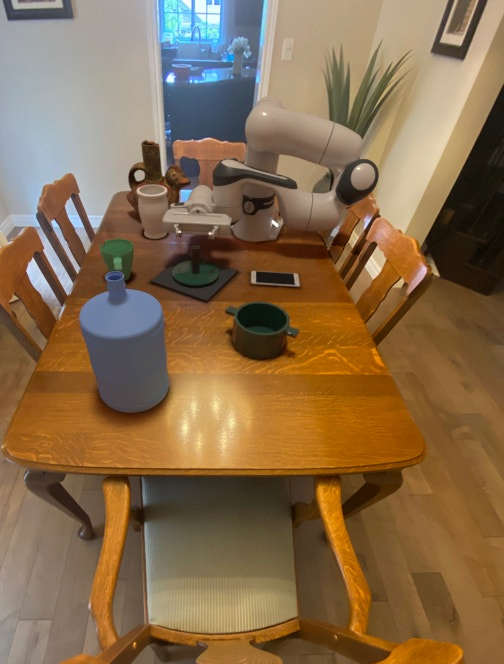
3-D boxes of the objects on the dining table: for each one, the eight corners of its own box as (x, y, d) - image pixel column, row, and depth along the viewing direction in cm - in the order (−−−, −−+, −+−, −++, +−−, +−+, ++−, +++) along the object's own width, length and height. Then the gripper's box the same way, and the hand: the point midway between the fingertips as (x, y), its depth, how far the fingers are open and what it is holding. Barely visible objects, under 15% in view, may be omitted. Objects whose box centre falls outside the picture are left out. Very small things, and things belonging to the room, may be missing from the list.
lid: (188, 259, 121) (187, 231, 114) (227, 271, 116) (229, 243, 109) (163, 279, 112) (161, 250, 105) (203, 293, 108) (204, 264, 101)
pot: (237, 316, 102) (239, 292, 96) (301, 339, 96) (308, 315, 90) (213, 343, 94) (214, 319, 88) (281, 370, 88) (287, 346, 82)
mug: (105, 270, 117) (99, 239, 109) (136, 268, 118) (132, 237, 110) (106, 296, 107) (99, 264, 100) (139, 293, 108) (135, 261, 101)
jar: (165, 242, 130) (162, 197, 119) (137, 239, 131) (132, 194, 120) (172, 229, 137) (170, 185, 126) (146, 226, 138) (142, 182, 127)
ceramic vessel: (185, 230, 136) (184, 152, 118) (120, 222, 140) (108, 145, 121) (196, 212, 147) (196, 138, 129) (135, 205, 151) (127, 132, 132)
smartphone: (251, 270, 117) (298, 273, 116) (250, 272, 117) (297, 275, 117) (251, 282, 112) (300, 286, 111) (250, 284, 112) (299, 287, 112)
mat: (185, 256, 124) (185, 253, 123) (237, 272, 117) (238, 270, 117) (150, 283, 112) (150, 280, 112) (206, 302, 106) (206, 300, 105)
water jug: (159, 419, 77) (146, 307, 56) (89, 409, 79) (50, 296, 58) (176, 369, 87) (170, 258, 66) (113, 360, 89) (88, 249, 68)
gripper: (231, 227, 115) (230, 248, 106) (166, 224, 116) (160, 244, 107) (232, 206, 110) (232, 226, 101) (165, 203, 111) (159, 222, 102)
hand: (194, 235), depth 104 cm, fingers open, 8 cm apart
